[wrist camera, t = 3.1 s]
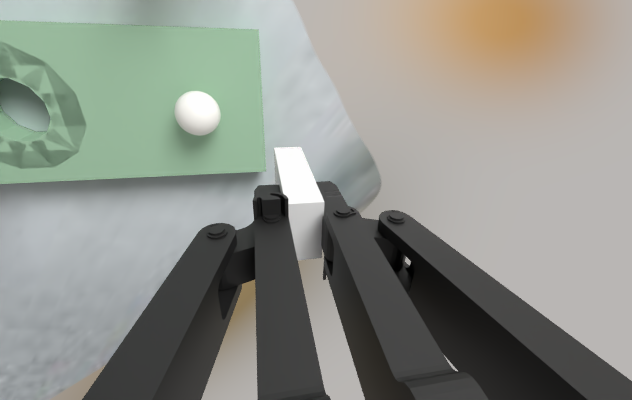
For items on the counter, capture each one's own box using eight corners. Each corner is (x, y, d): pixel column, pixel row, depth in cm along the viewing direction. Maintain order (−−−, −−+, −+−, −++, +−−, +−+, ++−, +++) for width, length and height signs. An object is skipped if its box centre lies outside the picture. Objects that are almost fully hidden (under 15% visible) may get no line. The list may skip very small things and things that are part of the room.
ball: (175, 87, 29) (165, 95, 25) (219, 87, 29) (215, 94, 26) (183, 129, 31) (174, 141, 27) (224, 128, 31) (221, 140, 28)
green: (-102, 17, 25) (-475, 2, 12) (257, 29, 30) (264, 29, 17) (-18, 173, 32) (-199, 270, 19) (264, 161, 37) (273, 231, 24)
